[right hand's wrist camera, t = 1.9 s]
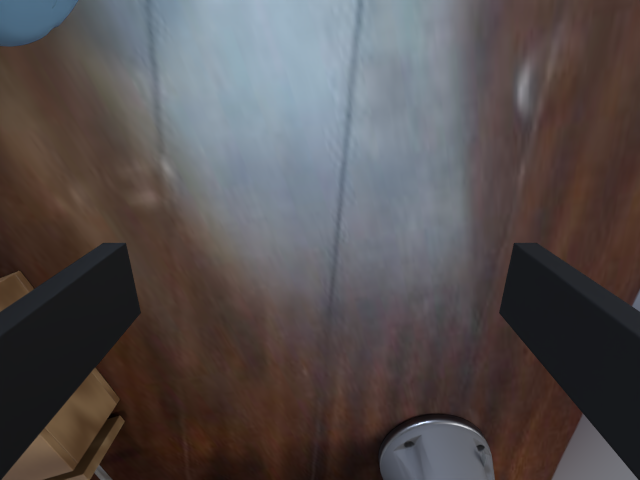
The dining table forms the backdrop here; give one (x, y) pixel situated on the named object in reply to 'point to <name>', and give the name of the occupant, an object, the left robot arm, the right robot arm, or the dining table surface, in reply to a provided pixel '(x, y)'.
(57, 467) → the cabinet
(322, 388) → the dining table surface
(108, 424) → the drawer
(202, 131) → the dining table surface
